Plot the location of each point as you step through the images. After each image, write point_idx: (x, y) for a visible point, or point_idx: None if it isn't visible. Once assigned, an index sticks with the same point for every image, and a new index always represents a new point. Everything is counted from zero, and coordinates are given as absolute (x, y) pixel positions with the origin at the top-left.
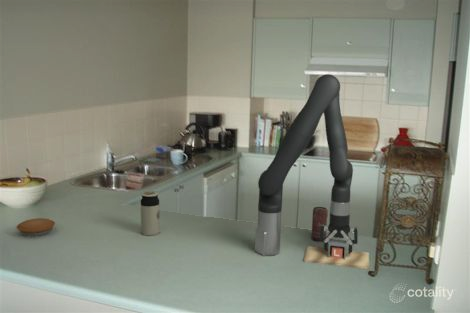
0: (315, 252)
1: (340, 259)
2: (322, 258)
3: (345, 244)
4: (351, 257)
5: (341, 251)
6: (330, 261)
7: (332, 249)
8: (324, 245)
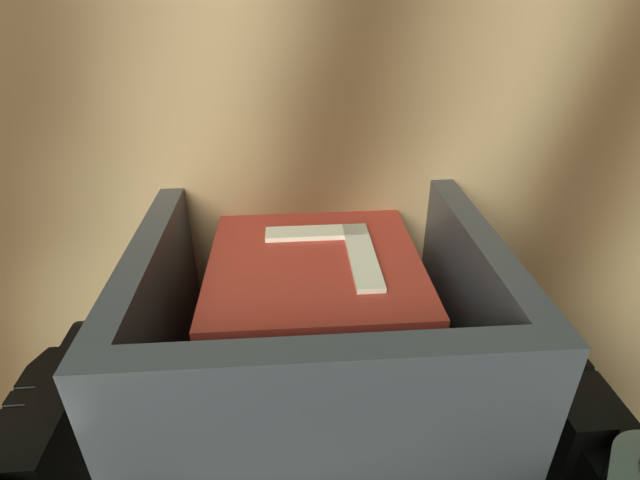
0: (624, 312)
1: (240, 167)
2: (558, 114)
3: (106, 460)
4: (85, 302)
5: (223, 286)
6: (420, 8)
7: (424, 294)
8: (601, 383)
